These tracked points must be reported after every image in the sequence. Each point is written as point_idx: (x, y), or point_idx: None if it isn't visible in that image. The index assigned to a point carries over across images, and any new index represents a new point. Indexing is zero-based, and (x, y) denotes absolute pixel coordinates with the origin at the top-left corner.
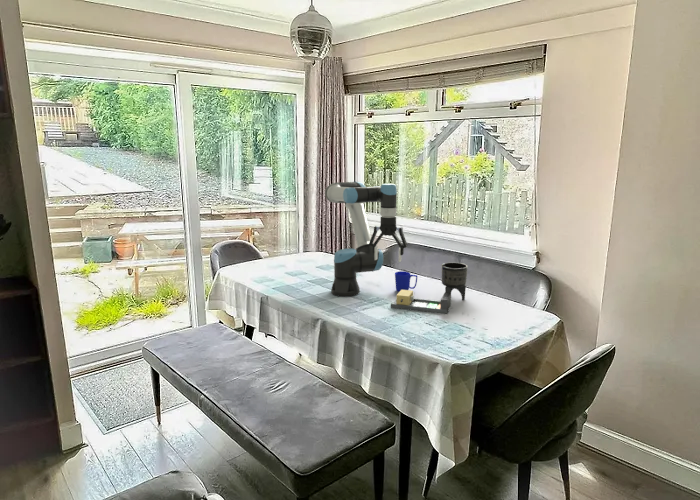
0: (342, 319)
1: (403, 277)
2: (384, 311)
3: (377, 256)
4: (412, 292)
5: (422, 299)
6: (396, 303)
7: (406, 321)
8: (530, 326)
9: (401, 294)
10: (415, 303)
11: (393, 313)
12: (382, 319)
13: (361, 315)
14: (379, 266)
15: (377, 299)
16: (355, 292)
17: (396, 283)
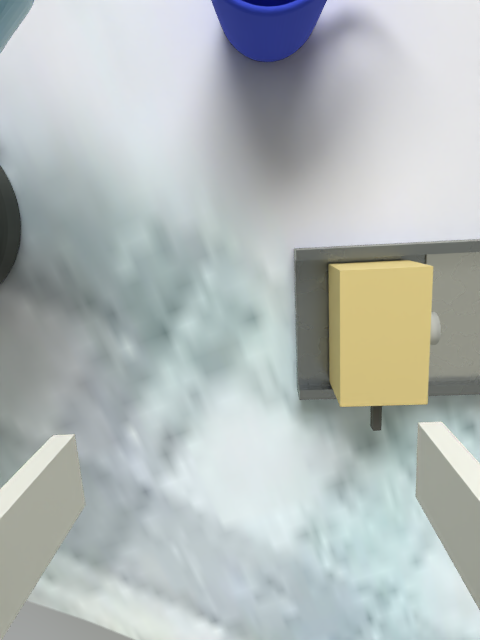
0: (133, 601)
1: (300, 16)
2: (281, 447)
3: (57, 455)
4: (429, 288)
5: (475, 248)
6: (331, 385)
7: (425, 536)
8: None
9: (369, 382)
10: (432, 304)
11: (335, 458)
12: (306, 548)
13: (192, 533)
14: (21, 19)
15: (172, 270)
16: (6, 253)
17: (230, 31)
